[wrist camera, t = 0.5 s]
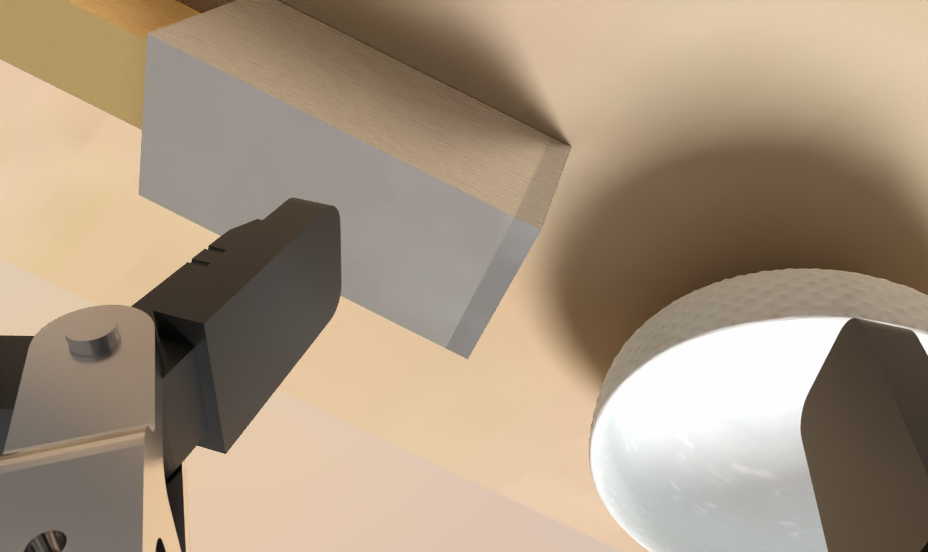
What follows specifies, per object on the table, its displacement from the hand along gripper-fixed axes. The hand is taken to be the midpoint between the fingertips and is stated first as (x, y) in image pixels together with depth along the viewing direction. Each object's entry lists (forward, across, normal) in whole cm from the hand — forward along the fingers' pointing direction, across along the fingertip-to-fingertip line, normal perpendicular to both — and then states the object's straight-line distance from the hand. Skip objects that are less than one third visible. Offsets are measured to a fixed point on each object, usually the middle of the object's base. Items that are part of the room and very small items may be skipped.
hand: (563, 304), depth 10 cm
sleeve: (+18, +10, +5) cm, 21 cm away
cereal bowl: (+19, -10, +13) cm, 25 cm away
